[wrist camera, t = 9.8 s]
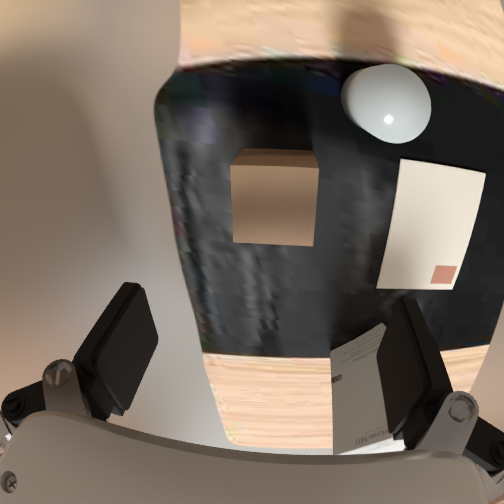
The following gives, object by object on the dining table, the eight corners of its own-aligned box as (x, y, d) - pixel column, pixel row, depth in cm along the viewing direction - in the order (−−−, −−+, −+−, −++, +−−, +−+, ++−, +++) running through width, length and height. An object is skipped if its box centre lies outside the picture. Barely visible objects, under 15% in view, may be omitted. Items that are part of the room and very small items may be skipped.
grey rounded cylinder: (341, 64, 20) (355, 58, 15) (403, 73, 20) (432, 72, 15) (339, 126, 23) (353, 138, 18) (400, 133, 23) (427, 148, 17)
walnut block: (243, 148, 25) (230, 165, 20) (313, 150, 25) (318, 168, 20) (244, 211, 28) (233, 242, 23) (309, 214, 28) (312, 246, 23)
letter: (400, 158, 24) (401, 159, 23) (484, 173, 22) (485, 173, 22) (376, 287, 31) (376, 288, 31) (451, 288, 30) (452, 289, 29)
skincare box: (381, 320, 33) (406, 430, 20) (402, 343, 35) (426, 443, 22) (326, 352, 37) (329, 458, 24) (350, 371, 39) (358, 468, 26)
